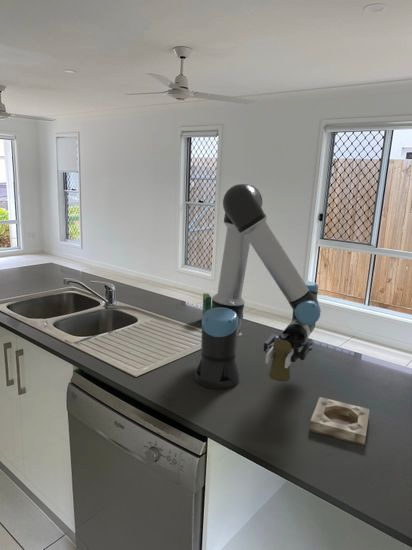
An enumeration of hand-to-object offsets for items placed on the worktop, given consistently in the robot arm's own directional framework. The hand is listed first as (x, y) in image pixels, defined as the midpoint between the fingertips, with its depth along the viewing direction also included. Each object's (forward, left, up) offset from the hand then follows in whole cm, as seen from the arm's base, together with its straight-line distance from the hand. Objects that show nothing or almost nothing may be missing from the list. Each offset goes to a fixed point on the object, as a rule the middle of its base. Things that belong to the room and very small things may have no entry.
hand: (276, 361), depth 111 cm
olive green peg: (0, +5, -7) cm, 9 cm away
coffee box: (-51, +63, -17) cm, 83 cm away
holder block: (+18, +5, -17) cm, 25 cm away
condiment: (-35, +55, -17) cm, 68 cm away
